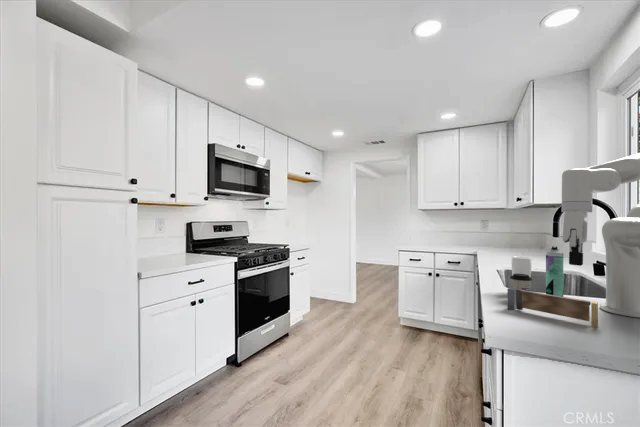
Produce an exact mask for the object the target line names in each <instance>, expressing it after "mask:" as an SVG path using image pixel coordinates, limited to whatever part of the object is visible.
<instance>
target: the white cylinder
mask: <svg viewBox="0 0 640 427" xmlns="http://www.w3.org/2000/svg"><path fill="white" fill-rule="evenodd" d="M511 272H512V273H511V274H512V275H511V276H513V274H526V275H529V277H530V278H532V277H531V275H532V258H531V257H528V256H521V255H520V256H517V255H515V256H511Z"/></svg>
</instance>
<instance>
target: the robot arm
mask: <svg viewBox="0 0 640 427" xmlns="http://www.w3.org/2000/svg"><path fill="white" fill-rule="evenodd" d="M637 181H640V152H638V153H636V154H632V155H629V156H626V157H622V158H619V159H616V160H612V161H608V162H605V163H604V162H603V163H601V164H600V163H599V164H596V165H593V166H589V167H585V168H571V169H570V168H569V169H567V170H564V171H563V172H562V174H561V213H564V215H563V216H564V217H563V224H562V243H565V244H566V243H569V246H568V247H569V252H568V264H569V265H571V266H579V267H580V266H583V264H584V253H583V249H584V248H583V247H584V243H587V239H588V213H593V193H595V194H597V193H607V192H608V193H609V192H613V191H614V190H616V189H618V188H619V186H621V185H623V184H629V183H634V182H637ZM601 234H602V235H601V236H602V238H603V239H602V240H603V244H604V248H605V302H603V303H602V302H601V303H600V304H599V308H600V309H601V310H602V311H605V312H608V313H611V314H614V315H618V316H623V317H624V316H625V317H631V318H632V317H633V318H640V202H639V203H637V204H636V205H635V206H633V208H631V209H630V210H629V211H628V213H627V214H626V217H616V218H615V217H614V218H610V219H609V220H607V221H605V222H604V224H603V225H602V227H601Z"/></svg>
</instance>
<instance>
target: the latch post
mask: <svg viewBox="0 0 640 427" xmlns="http://www.w3.org/2000/svg"><path fill="white" fill-rule="evenodd" d="M590 306H591V309H590V310H591V311H590V312H591V320H590V321H591V322H590V323H591V325H590V326H591V327H592V328H596V329H598V327H599V302H597V301H591V304H590Z"/></svg>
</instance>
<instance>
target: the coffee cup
mask: <svg viewBox="0 0 640 427" xmlns="http://www.w3.org/2000/svg"><path fill="white" fill-rule="evenodd" d="M509 278H510V284H511V288H514V289H521V290H525V291H531V286H532V281H533V279H532V277H529V275H526V274H513V275H510V277H509Z"/></svg>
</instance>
